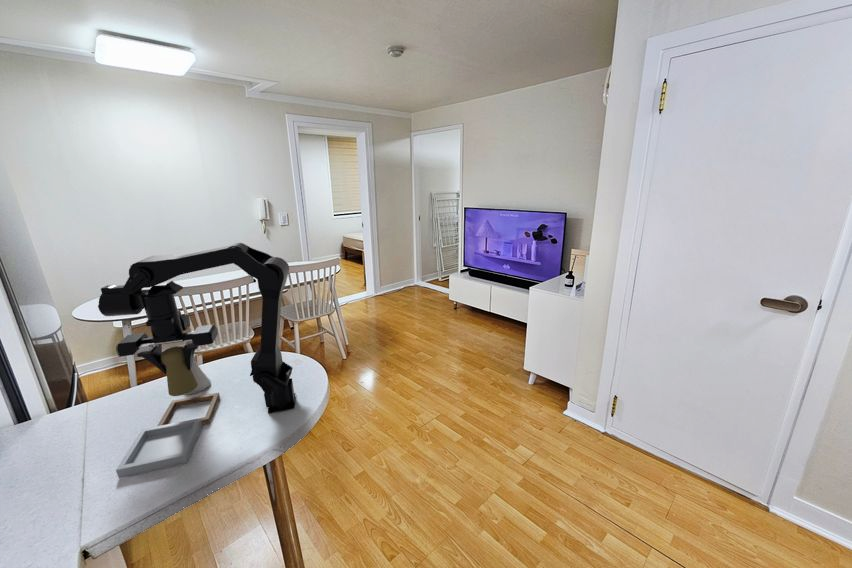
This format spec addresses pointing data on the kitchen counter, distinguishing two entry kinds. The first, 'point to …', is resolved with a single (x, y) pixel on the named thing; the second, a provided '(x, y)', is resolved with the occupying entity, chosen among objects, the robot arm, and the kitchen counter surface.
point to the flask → (199, 377)
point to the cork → (178, 372)
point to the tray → (160, 448)
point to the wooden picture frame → (192, 400)
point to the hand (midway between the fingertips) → (178, 371)
